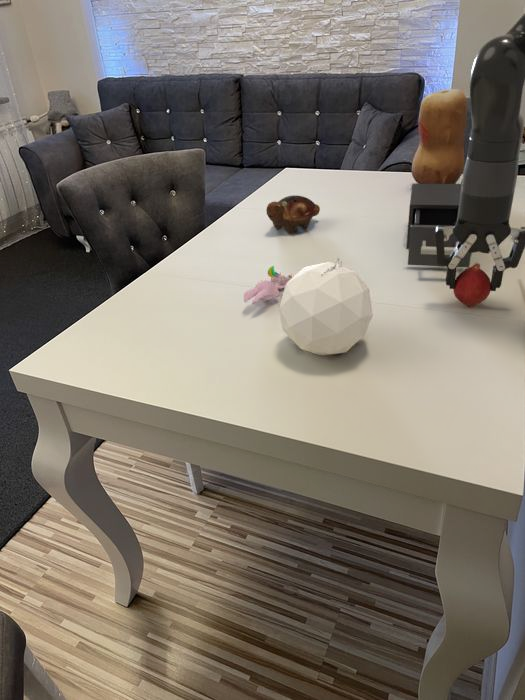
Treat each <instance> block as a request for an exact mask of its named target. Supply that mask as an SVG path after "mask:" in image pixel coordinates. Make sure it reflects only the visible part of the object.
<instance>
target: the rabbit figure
mask: <svg viewBox="0 0 525 700" xmlns="http://www.w3.org/2000/svg"><path fill="white" fill-rule="evenodd" d="M267 275H268V277H270V280H267V279H260V281H257V283H256V284H255V285H254V286H253V287H251V288H249V289H247V290H246V291H245V292H244V294H243V302H244V303H248V301H250V300H252V301H251V304H256V303H257V302H258V301H259V300H260V301H266V302H268V301H270V300H272V299H277V298H278V297H279V296H280V290H282V289H285V286H286V283H287V282H288V281H289V280H290V279H292V278H293V276H292V275H293V274H292V273H291V274H288V275H287V276H286V275H282V274H281V273H278V272H277V271H276V270H275V266H274V265H272V266H270V267H269V268H268V270H267Z"/></svg>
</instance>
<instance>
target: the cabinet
mask: <svg viewBox="0 0 525 700" xmlns="http://www.w3.org/2000/svg"><path fill="white" fill-rule="evenodd" d="M461 186H462V185H461V183H455V184H418V183H411V189H410V190H411V191H410V199H409V209H408V222H407V232H406V233H407V235H406V246H405V247H406V249H407V250H409V242H410V230H411V225H415V214H416V208H427V209H459V202H460V194H461Z"/></svg>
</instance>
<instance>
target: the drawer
mask: <svg viewBox="0 0 525 700" xmlns="http://www.w3.org/2000/svg"><path fill="white" fill-rule="evenodd" d="M457 217H458V209H427V208H416V214H415V225H411V230H410V242H409V249H408V254H407V255H408V256H407V265H408V266H425V267H426V266H427V267H430V266H431V267H445V266H444V265H439V264H438V263H437V250H436V227H437V226H438V225H442V226H443V227H450V226H453V225H454V224H455V222H456V221H457ZM458 242H459V241H458V240H457V238H456V237H455V235H454V234H451V235H450V236H449V239H448V240H447V241H444V251H445V255H447V256H450V255H451V254H452V252H453V251H454V249H455V247H456V245H457V244H458ZM471 258H472V253H468V251H467V253H466V254H465V256H464V257H463V258H462V259H461V260H460V262H459V263H458V265H457V266H456V268H469V267H470V265H471Z"/></svg>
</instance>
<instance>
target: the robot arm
mask: <svg viewBox="0 0 525 700" xmlns="http://www.w3.org/2000/svg"><path fill="white" fill-rule="evenodd" d="M471 67H472V68H471V73H470V80H469V102H470V103H469V107H470V119H471V127H470V133H469V140H468V148H467V155H466V159H465V166H464V170H463V172H462V178H461V182H460V184H461V185H462V186H461V194H460V202H459V209H458V217H457V221H456V222H455V224H454V225H453V226H450V227H443V226H442V225H438V226H437V227H436V250H437V263H438V264H439V265H444V266H443V267H446V274H445V275H446V276H445V285H446V286H449V290H454V286H455V279H456V278H457V272H458V271H457V270H458V269H457V268H458V267H456V266H457V265H458V263H459V262H460V260H461V259H462V258H463V257H464V256H465V254H466V253H467V251H468V253H471V254H473V253H482V254H489V253H490V254H491V257H492V259H493V261H494V265H492V273H491V279H490V283H491V291H490V292H496V291H497V289H500V288H501V286H502V282H503V276H504V272H505V270H507V269H509V268H510V269H516V268H517V267H518V266H519V263H520V261H521V258H522V256H523V253H524V250H525V226H520V227H512V226H511V225H510V219H511V213H512V207H513V201H514V196H515V191H516V186H517V180H518V174H519V159H520V155H521V154H520V153H521V147H522V142H523V137H524V129H525V121H524V117H523V115H522V114H521V108H522V107H521V106H522V99H523V91H524V86H525V12H524V13H523V14H522V15H521V17H520V18H519V19H518V20H517V22H515V24H514V25H513V26H512V27H511V28H510V29H509V30H508V31H507V32H506V33H505V34H503V35H499V36H495V37H494V38H491V39H490V40H488V41H487V42H486V43H484V45H482V46H481V48H480V49H479V51H478V52H477V54H476V56H475V58H474V61H473V63H472V66H471ZM451 234H454V235H455V237H456V238H457V240H458V241H459V242H458V244H457V245H456V247H455V249H454V251H453V252H452V254H451V255H450V256H447V255H445V251H444V241H447V240H448V239H449V236H450V235H451ZM509 236H510V237H511V241H512V243H513V244H512V247H511V249H510V252H509V255H508V257H503V255H502V252H501V248H500V245H501V244H502V243H503V242H504V241H505V240H506V239H507V238H508V237H509Z"/></svg>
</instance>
